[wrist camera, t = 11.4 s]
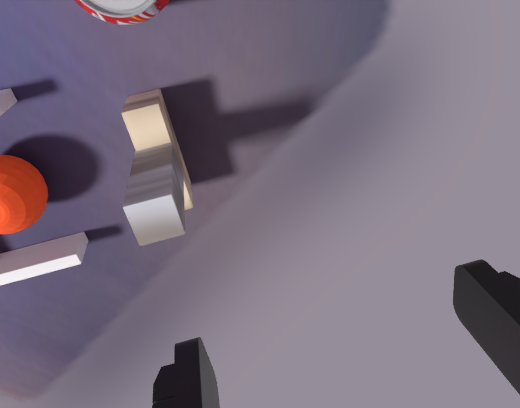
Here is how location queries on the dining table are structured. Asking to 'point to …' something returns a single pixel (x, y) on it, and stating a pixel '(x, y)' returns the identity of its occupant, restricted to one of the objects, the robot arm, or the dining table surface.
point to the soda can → (123, 10)
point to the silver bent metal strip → (155, 171)
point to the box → (42, 254)
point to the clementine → (20, 194)
